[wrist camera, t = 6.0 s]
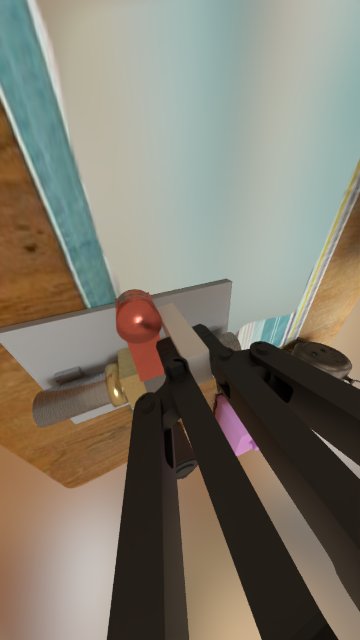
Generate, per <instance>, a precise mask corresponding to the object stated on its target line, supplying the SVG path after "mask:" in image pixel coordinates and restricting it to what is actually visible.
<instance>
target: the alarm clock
mask: <svg viewBox="0 0 360 640" xmlns="http://www.w3.org/2000/svg"><path fill="white" fill-rule="evenodd" d="M298 339H299V340H300V343H298V344H296V345H295V346H294V349H293V351H288V350H284V349H282V350H283V351H285V352H287V353H289V354H291V355H293V356H295V357H297V358H299V359H301V360H303V361H305V362H307V363H309V364H311V365H313V366H315V367H317V368H319V369H321V370H323V371H325V372H327V373H329V374H331V375H332V376H334V377H336V378H338V379H340V380H342V381H344V380H347V381H349V383H350V385H352V383H354V382H355V381H357V382H360V381H358V380H353V379H350V378H349V377H348V376H347V375H348V374H349V372H350V371H351V369H352V364H351V362H350V360H349V359H348V358H347V357H346V356H345V355H344V354H342V353H341V352H339V351H338V350H336V349H334V348H332V347H329V346H327V345H324V344H320V343H316V342H303V341H302V340H301V338H300V337H298Z"/></svg>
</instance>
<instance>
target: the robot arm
mask: <svg viewBox="0 0 360 640" xmlns="http://www.w3.org/2000/svg"><path fill="white" fill-rule="evenodd" d="M157 310H158V312H159V314H160V316H161V318H162V327H163V330H164V333H165V335H166V337H167V338H164V339H162V340H159V341H157V344H156V349H157V351H158V354H159V357H160V360H161V363H162V365H163V368H164V373H165V375H166V379H165V382H164V383H163V385H162V386H161V387H160V388H159V389H158V390H157V391H156V392H155V393H154V392H147V393H145V394H143V395H142V396H140V397H139V398H138V400H137V401H136V403H135V406H134V412H133V421H132V429H131V438H130V446H129V455H128V463H127V472H126V480H125V489H124V498H123V506H122V515H121V523H120V532H119V540H118V549H117V557H116V566H115V575H114V583H113V592H112V600H111V609H110V617H109V626H108V635H107V640H189V632H188V619H187V608H186V607H187V606H186V593H185V580H184V567H183V554H182V542H181V541H182V540H181V528H180V514H179V502H178V489H177V475H176V462H175V448H174V435H173V425H174V424H175V423H176V422H177V421H178V420H179V419H180V418H181V419H182V421H183V424H184V427H185V430H186V432H187V435H188V437H189V441H190V443H191V446H192V449H193V452H194V454H195V457H196V460H197V463H198V465H199V468H200V471H201V473H202V476H203V479H204V482H205V485H206V487H207V490H208V493H209V496H210V498H211V501H212V504H213V507H214V509H215V512H216V515H217V518H218V520H219V523H220V526H221V528H222V531H223V534H224V537H225V540H226V542H227V545H228V548H229V551H230V553H231V556H232V559H233V562H234V565H235V567H236V570H237V573H238V576H239V578H240V581H241V584H242V587H243V589H244V592H245V595H246V597H247V600H248V603H249V606H250V608H251V611H252V614H253V617H254V619H255V622H256V625H257V628H258V630H259V633H260V636H261V639H262V640H338V638H337V637H336V635H335V634H334V632H333V630H332V629H331V627H330V626H329V624H328V623H327V621H326V619H325V618H324V616H323V614H322V613H321V611H320V609H319V607H318V606H317V604H316V602H315V600H314V598H313V597H312V595H311V593H310V591H309V589H308V588H307V586H306V584H305V582H304V580H303V578H302V576H301V574H300V573H299V571H298V569H297V567H296V565H295V563H294V562H293V560H292V558H291V556H290V554H289V552H288V551H287V549H286V547H285V545H284V543H283V541H282V539H281V538H280V536H279V534H278V532H277V530H276V529H275V527H274V525H273V523H272V521H271V519H270V517H269V515H268V514H267V512H266V510H265V508H264V506H263V505H262V503H261V501H260V499H259V497H258V495H257V493H256V492H255V490H254V488H253V486H252V484H251V482H250V480H249V479H248V477H247V475H246V473H245V471H244V470H243V468H242V466H241V464H240V462H239V460H238V458H237V456H236V455H235V453H234V451H233V449H232V447H231V445H230V444H229V442H228V440H227V438H226V436H225V434H224V432H223V431H222V429H221V427H220V425H219V423H218V421H217V420H216V418H215V416H214V414H213V412H212V410H211V408H210V407H209V405H208V403H207V401H206V399H205V397H204V396H203V394H202V392H201V390H200V388H199V386H198V385H200V384H202V383H204V382H207V381H209V380H211V379H213V376H214V377H215V379H216V384H217V390H218V393H219V392H220V390H221V392H222V393H223V395H224V396H225V398H226V399H227V401H228V403H229V404H230V406H231V407H232V409H233V410H234V412H235V413H236V415H237V416H238V418H239V419H240V421H241V422H242V424H243V425H244V427H245V428H246V430H247V432H248V433H249V435H250V436H251V438H252V439H253V441H254V442H255V444H256V445H257V447H258V448H259V450H260V451H261V453H262V454H263V456H264V457H265V459H266V460H267V462H268V463H269V465H270V467H271V468H272V470H273V471H274V473H275V474H276V475H277V477H278V479H279V480H280V482H281V483H282V485H283V486H284V488H285V489H286V491H287V492H288V494H289V496H290V497H291V499H292V500H293V501H294V503H295V505H296V506H297V508H298V509H299V511H300V512H301V514H302V515H303V517H304V519H305V520H306V522H307V523H308V525H309V526H310V528H311V529H312V531H313V532H314V534H315V535H316V537H317V538H318V540H319V541H320V543H321V544H322V546H323V547H324V549H325V551H326V552H327V554H328V555H329V557H330V559H331V561H332V562H333V565H334V567H335V570H336V573H337V575H338V576H339V579H340V580H341V582H342V584H343V586H344V587H345V589H346V591H347V592H348V594H349V596H350V597H351V599H352V600H353V602H354V603H355V605H356V607H357V608H358V610H359V611H360V479H359V478H358V477H357V476H356V475H355V474H354V473H353V472H352V471H351V470H350V469H349V468H348V467H347V466H346V465H345V464H344V463H343V462H342V461H341V459H340V458H339V457H338V456H337V455H336V454H335V453H334V452H333V451H332V450H331V449H330V448H329V447H328V446H327V445H326V444H325V443H324V442H323V441H322V440H321V439H320V438H319V437H318V436H317V435H316V434H315V433H314V432H313V431H315V432H316V433H317V434H319V435H320V436H321V437H322V438H324V439H325V440H326V441H328V442H329V443H330V444H332V445H333V446H334V447H336V448H337V449H338V450H339V451H341V452H342V453H343V454H345V455H346V456H347V457H349V458H350V459H352V460H353V461H354V462H355V463H356V464H358V465H359V466H360V389H358V388H356V387H354V386H352V385H350V384H348V383H346V382H344V381H342V380H340V379H338V378H336V377H334V376H332V375H331V374H329V373H327V372H325V371H323V370H321V369H319V368H317V367H315V366H313V365H311V364H309V363H307V362H305V361H303V360H301V359H299V358H297V357H295V356H293V355H291V354H289V353H287V352H285V351H283V350H281V349H279V348H277V347H275V346H274V345H272V344H270V343H267V342H262V341H258V342H254V343H252V344H251V346H250V349H246V350H238V351H235V350H233V349H231V348H228V347H225V346H224V345H223V344H222V343H221V342H220V341H219V340H218V339H217V337H216V336H215V335H214V334H213V333H212V332H211V331H210V330H209V329H208V328H207V327H206V326H205V325H202V324H198V325H195V326H193V327H191V326H190V325H189V323H188V322H187V321H186V320H185V318H184V317H183V316H182V314H181V313H180V312H179V311H178V309H177V308H176V307H175V306H174V304H173V303H170V304H167V305H164V306H161V307H159V308H157ZM212 374H213V376H212ZM310 428H311V429H312V430H313V431H312V430H311V429H310Z"/></svg>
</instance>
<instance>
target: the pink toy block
mask: <svg viewBox="0 0 360 640" xmlns="http://www.w3.org/2000/svg"><path fill="white" fill-rule="evenodd" d="M216 400H217V401H218V402H217V408H216V409H215V411H214V412H216V414H215V418H216V420H217V421H218V423H219V425H220V427H221V429H222V431H223V432H224V434H225V436H226V438H227V440H228V442H229V444H230V445H231V447H232V449H233V451H234V453H235V455H236V456H239V455H241V454H242V453H244V452H246V451H248V450H250V449H252V448H253V449H254V451H257V450H259V448H258V447H257V445H256V444H255V442H254V441H253V439H252V438H251V436H250V435H249V433H248V432H247V430H246V428H245V427H244V425H243V424H242V422H241V421H240V419H239V418H238V416H237V415H236V413H235V412H234V410H233V409H232V407H231V406H230V404H229V403H228V401H227V399H226V398H225V396H224V395H223V394H222V395H219V396H218V397H217V399H216Z"/></svg>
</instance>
